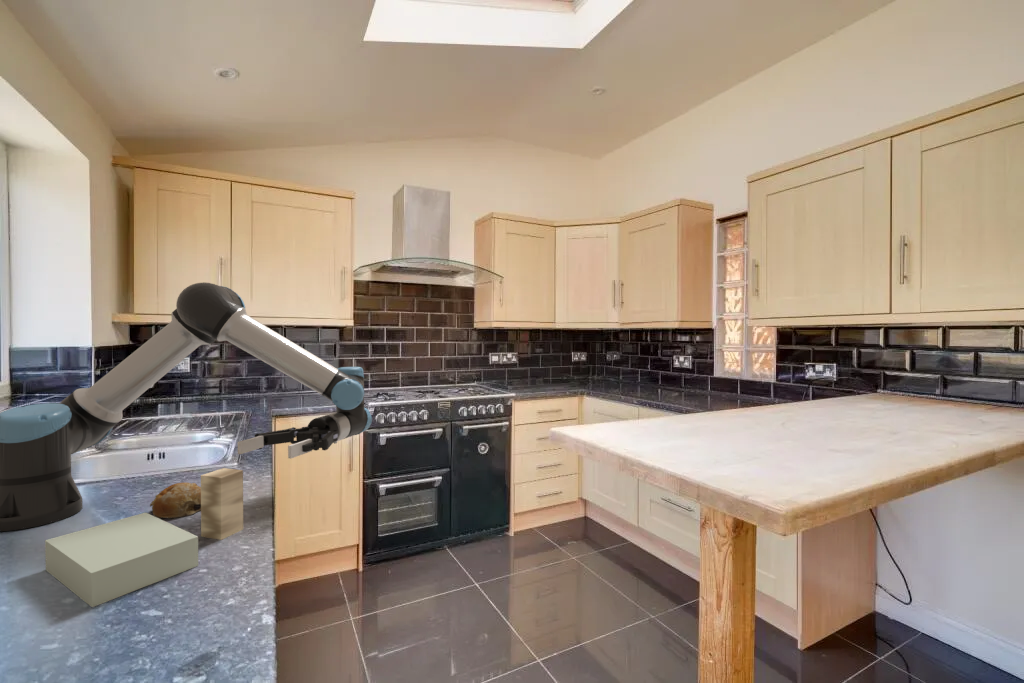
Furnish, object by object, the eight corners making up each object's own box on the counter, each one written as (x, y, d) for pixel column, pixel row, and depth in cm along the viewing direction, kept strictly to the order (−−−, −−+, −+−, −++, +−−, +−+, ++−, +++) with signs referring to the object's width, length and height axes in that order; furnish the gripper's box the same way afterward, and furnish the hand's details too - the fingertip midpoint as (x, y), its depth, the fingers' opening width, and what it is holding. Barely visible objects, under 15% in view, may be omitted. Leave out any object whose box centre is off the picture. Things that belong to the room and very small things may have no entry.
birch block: (201, 536, 90) (200, 475, 90) (223, 526, 95) (223, 468, 94) (221, 539, 89) (220, 477, 88) (243, 529, 93) (242, 470, 93)
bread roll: (170, 538, 97) (183, 505, 97) (134, 513, 99) (147, 481, 98) (210, 519, 107) (222, 489, 106) (176, 497, 109) (188, 468, 108)
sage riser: (45, 570, 77) (45, 540, 77) (145, 538, 89) (145, 512, 89) (91, 607, 67) (91, 573, 67) (198, 565, 79) (198, 536, 79)
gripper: (369, 446, 118) (312, 471, 98) (289, 441, 125) (219, 463, 104) (369, 417, 118) (311, 436, 97) (288, 413, 125) (218, 430, 104)
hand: (263, 450), depth 101 cm, fingers open, 13 cm apart
